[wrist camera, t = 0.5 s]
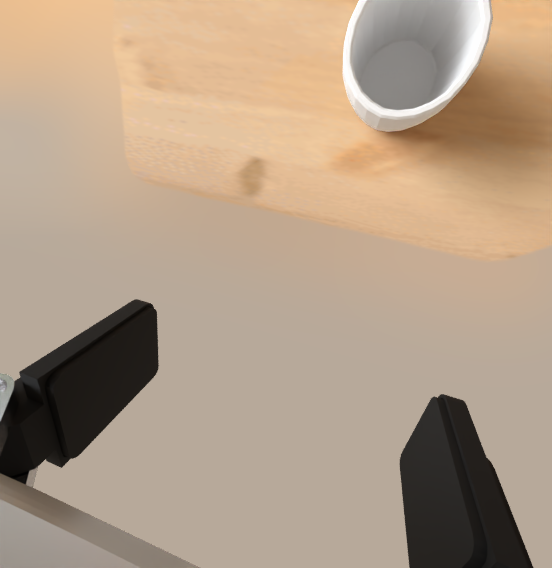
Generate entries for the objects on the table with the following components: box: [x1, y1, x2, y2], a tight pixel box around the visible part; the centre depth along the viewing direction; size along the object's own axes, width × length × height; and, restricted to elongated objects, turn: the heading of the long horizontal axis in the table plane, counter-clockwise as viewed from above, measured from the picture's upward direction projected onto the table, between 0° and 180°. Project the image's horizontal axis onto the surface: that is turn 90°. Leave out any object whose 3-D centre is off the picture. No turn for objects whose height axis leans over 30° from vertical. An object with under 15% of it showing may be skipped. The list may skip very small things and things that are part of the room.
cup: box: [343, 0, 493, 132], centre depth 23 cm, size 8×8×14 cm
